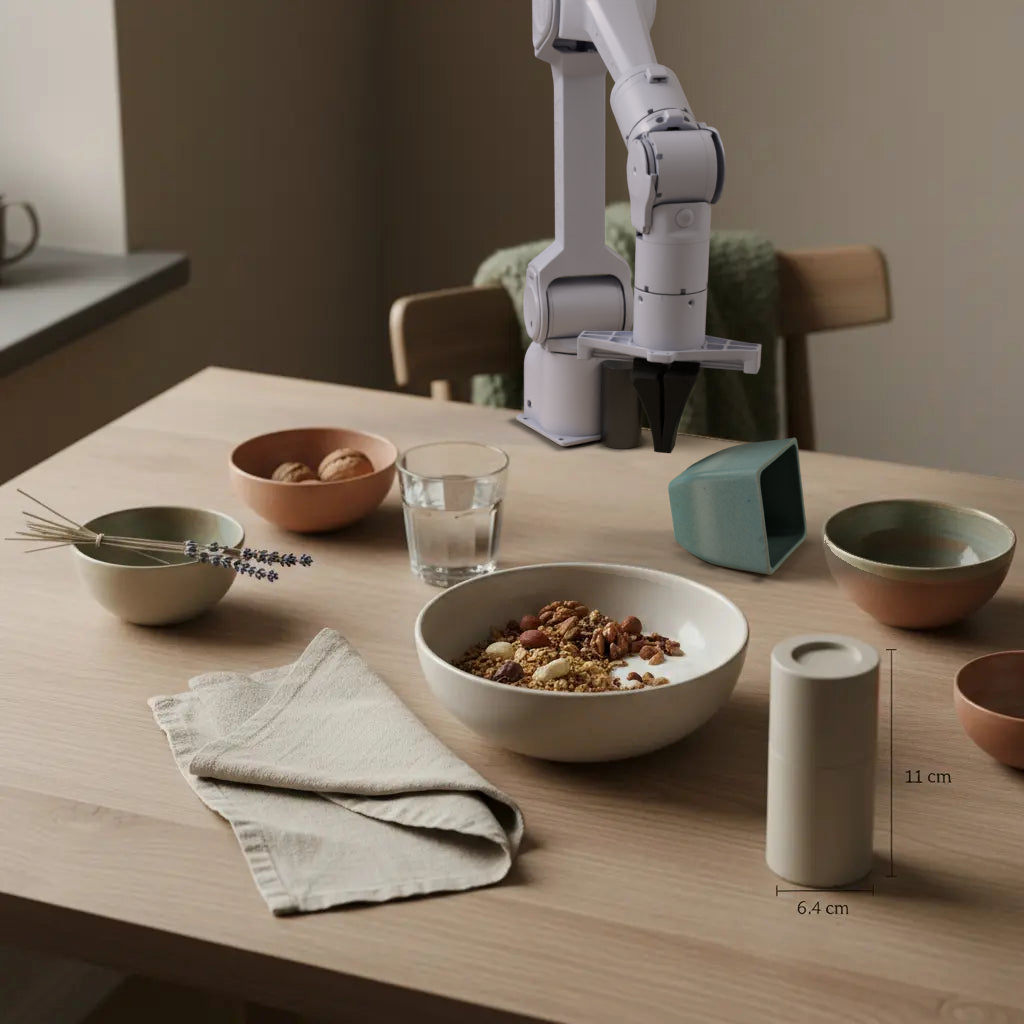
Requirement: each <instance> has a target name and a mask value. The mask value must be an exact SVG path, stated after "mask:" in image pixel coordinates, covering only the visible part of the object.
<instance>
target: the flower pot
mask: <svg viewBox="0 0 1024 1024" xmlns="http://www.w3.org/2000/svg"><path fill="white" fill-rule="evenodd" d="M800 462H801V461H800V453H799V444H798V440H797V438H796V437H790V438H781V439H773V440H772V439H771V440H763V441H755V442H748V443H741V444H736V445H732V446H729V447H727V448H723V449H720V450H718V451H716V452H714V453H711V454H709V455H707V456H705V457H703V458H701V459H699V460H698V461H696V462H694V463H692V464H691V465H690V466H688V467H687V468H686V469H685V470H683V471H682V472H681V473H680V474H678V475H677V476H675V477H674V478H673V479H672V480H670V481H669V483H668V486H667V491H668V499H669V505H670V514H671V520H672V527H673V535H674V541H675V542H676V543H677V544H678V545H680V547H682V548H683V549H684V550H686V551H687V552H688V553H690V554H692V555H693V556H695V557H696V558H699V559H700V560H702V561H704V562H707V563H710V564H711V565H714V566H719V567H724V568H729V569H734V570H739V571H745V572H751V573H756V574H757V573H758V574H762V575H769V576H772V575H773V574H774V573H775V572H776V571H777V570H779V568H780V567H781V566H782V565H783V564H784V562H785V561H786V560H787V559H788V558H789V557H790V556H791V555H792V554H793V553H794V551H795V550H796V549H798V547H800V546H801V544H803V543H804V542H805V540H806V539H807V537H808V527H807V517H806V508H805V498H804V491H803V490H804V489H803V482H802V474H801V463H800Z"/></svg>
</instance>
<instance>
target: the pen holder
mask: <svg viewBox="0 0 1024 1024" xmlns="http://www.w3.org/2000/svg"><path fill="white" fill-rule="evenodd" d="M632 370H633V362H632V361H619V360H605V361H603V362H602V381H601V428H600V440H599V442H600V444H601V445H603V446H604V447H607V448H611V449H620V450H622V449H632V448H636V447H638V446H640V445H641V444H642V435H643V434H642V433H643V431H642V430H643V404H642V402H641V400H640V397H639V395H638V393H637V391H636V389H635V388H634V386H633V384H632V381H631V377H630V373H631V372H632Z"/></svg>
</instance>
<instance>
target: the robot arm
mask: <svg viewBox="0 0 1024 1024" xmlns="http://www.w3.org/2000/svg"><path fill="white" fill-rule="evenodd" d="M531 8H532V9H531V12H532V18H531V19H532V45H533V49H534V56H535V58H537V59H538V60H541V61H543V62H546V63H548V64H550V68H551V73H552V75H551V76H552V80H553V126H554V127H553V132H554V133H553V138H554V143H553V145H554V148H553V149H554V151H553V152H554V241H553V242H552V243H551V244H550V245H548V246H547V247H546V248H545V249H543V250H542V251H541V252H540V253H538V254H537V255H536V256H534V257H533V259H531V260H530V262H528V264H527V268H526V271H525V273H526V274H525V275H526V276H525V277H526V278H525V287H524V291H523V302H522V307H523V310H522V311H523V319H524V320H523V321H524V325H525V329H526V333H527V336H528V337H529V338H531V340H532V342H531V343H530V344H529V346H528V348H527V350H526V353H525V355H524V361H523V413H519V414H516V416H515V417H516V418H515V419H516V421H518V422H519V423H521V424H523V425H525V426H526V427H528V428H530V429H532V431H533V430H534V431H535V432H537V433H538V434H540V435H541V436H543V437H545V438H546V439H549V440H550V441H552V442H554V443H555V444H557V445H559V446H560V447H569V446H575V445H579V444H585V443H590V442H595V441H600V428H601V381H602V362H603V361H605V360H619V361H632V362H633V370H632V372H631V373H630V377H631V381H632V384H633V386H634V388H635V389H636V391H637V393H638V395H639V397H640V400H641V402H642V408H643V410H644V412H645V415H646V417H647V422H648V424H649V428H650V433H651V437H652V443H653V445H652V446H653V452H654V453H660V454H672V452H673V451H674V448H675V447H676V442H677V441H676V440H677V434H678V431H679V426H680V423H681V419H682V416H683V413H684V411H685V408H686V405H687V403H688V400H689V398H690V396H691V393H692V391H693V389H694V387H695V386H696V385H695V384H696V383H697V381H698V379H699V377H700V375H701V373H702V371H703V369H704V368H709V369H721V370H733V371H743V373H744V374H748V375H750V374H751V375H757V374H758V373H759V370H760V368H761V359H762V344H761V343H755V342H754V343H752V342H745V341H740V340H739V341H738V340H733V339H729V338H728V339H727V338H722V337H717V336H712V335H706V320H707V304H708V303H707V301H708V281H709V263H710V261H709V259H710V242H711V241H710V240H711V223H712V222H711V221H712V207H711V205H716V204H718V203H719V202H720V200H721V198H722V196H723V193H724V189H725V185H726V177H727V160H726V151H725V147H724V143H723V140H722V137H721V134H720V132H719V130H718V129H716V128H715V127H714V126H708V124H707V123H706V122H705V121H701V122H700V121H698V120H696V117H695V114H694V113H693V110H692V108H691V106H690V103H689V101H688V98H687V96H686V94H685V91H684V90H683V87H682V85H681V83H680V80H679V78H678V76H677V74H676V73H675V72H674V70H672V69H671V68H669V67H668V66H665V65H663V64H661V63H660V64H659V63H658V60H657V56H656V53H655V49H654V45H653V41H652V38H651V35H650V33H651V29H652V27H653V25H654V22H655V18H656V13H657V0H531ZM608 72H609V74H610V76H611V78H612V80H613V81H614V85H613V86H612V89H611V93H610V99H609V103H610V108H611V111H612V114H613V116H614V118H615V121H616V124H617V126H618V130H619V131H620V132H619V133H620V134H621V137H622V139H623V143H624V145H625V147H626V149H627V162H626V181H627V188H628V194H629V202H630V224H631V227H632V228H634V229H635V254H634V255H635V256H634V287H632V278H631V273H632V272H631V268H630V265H629V263H628V261H627V260H626V259H625V257H623V256H622V255H621V254H620V253H618V252H617V251H616V250H614V249H613V248H612V247H611V246H609V245H607V244H606V77H607V76H606V75H607V73H608ZM633 288H634V289H633Z"/></svg>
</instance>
